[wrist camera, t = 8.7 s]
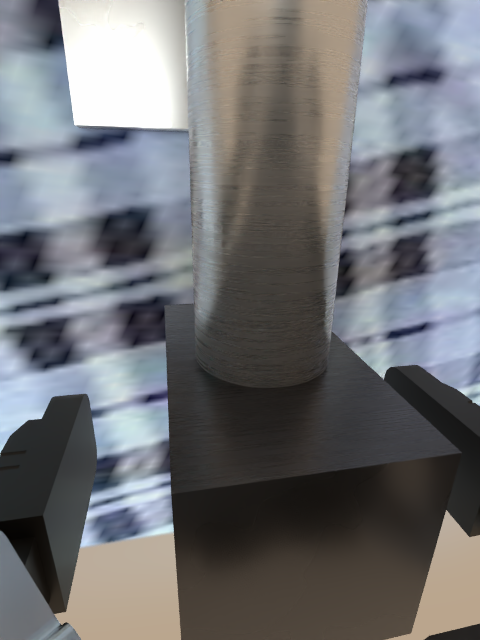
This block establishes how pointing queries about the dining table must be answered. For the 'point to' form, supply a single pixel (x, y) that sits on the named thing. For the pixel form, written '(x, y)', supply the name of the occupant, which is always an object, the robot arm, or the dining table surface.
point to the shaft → (286, 353)
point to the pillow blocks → (126, 63)
